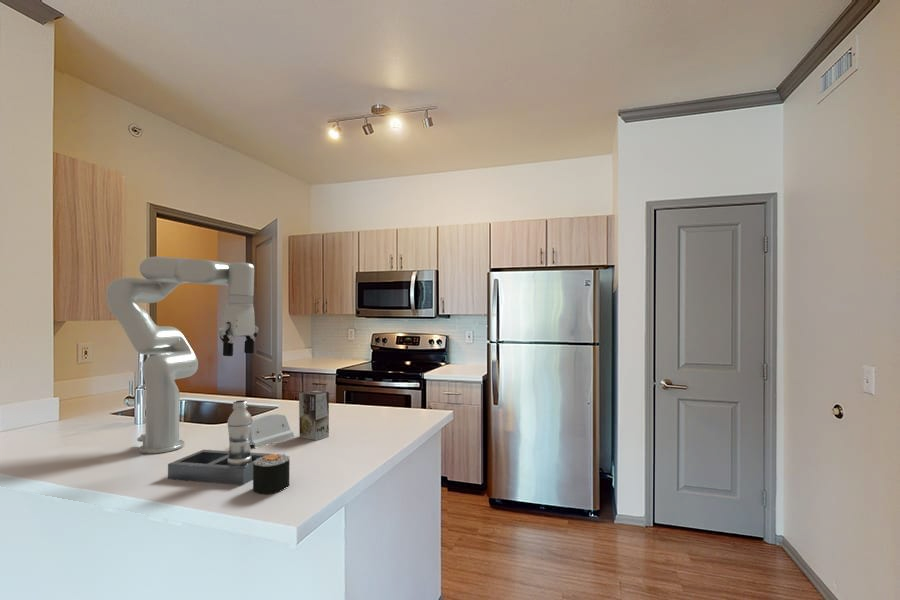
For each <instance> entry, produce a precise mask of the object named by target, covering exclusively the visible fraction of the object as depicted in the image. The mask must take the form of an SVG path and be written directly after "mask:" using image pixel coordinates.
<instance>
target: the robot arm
mask: <svg viewBox="0 0 900 600" xmlns="http://www.w3.org/2000/svg"><path fill="white" fill-rule="evenodd" d="M138 268H139V272H140V275H142V277H143V278H141V277H119V278H115V279H113V280H112V281H110V282H109V284H108V286H107V288H106V292H105V300H106V304H107V307H108V309H109V311H110V313H111V314H112V315H113V316H114V317H115V318H116V320H117V322H119V324H120V326H121V327H122V329H123V331H124V334H126V336H127V338H128V340H129V341H130V343H131V344H132V347H133V348H134V350H136V353H138V354H141V355H145V356H147V355H149V356H148V357H147V358H146V359H145V360H144V362H143V364H142V376H143V381H144V386H145V433H143V434H141V435H140V436H139V437H138V438H137V439H136V440H137V442H139V443H141V442H142V445H141V446H140V447H139V452H140V453H142V454H148V455H150V454H161V453H167V452H172V451H176V450H178V449H179V450H180V449H181V448H183V447H185V440H182V439H180V405H181V404H180V390H179V389H180V388H179V387H178V386H177V384H176V380H180V379H185V378H189V377H191V376H193V375H195V374H196V372H197V371H198V369H199V360H198V357H197V355H196V354H195V351H194V350H193V348H192V347H191V345H190V343H189V342H188V340H187V339H186V337H185V335H184V333H183V332H182V331H181V330H180V329H178V328H177V327H174V326H171V325H170V326H168V325H167V326H166V325H164V326H163V325H162V326H161V325H160V326H159V325H157V324H156V323H155V322H154V321H153V319H152V317H151V316H150V314H149V313H148V311H146V310H145V309H144V308H143V307H141V306H140V305H139V304H140V303H142V304H155V303H159V302H161V301H163V300H164V299H165V298H166V297H168V296H169V295H170V293H172V292H174V290H175V289H176V288H177V287H178V286H180V285H183V284H189V283H191V284H192V283H193V284H202V285H215V286H225V287H227V304H226V305H225V307H224V312H223V316H222V324H221V325H222V326H221V327H219V328H218V330H217V331H218V335H219V338H220V340H221V343H222V356H223V357H233V355H234V342H233V341H234V339H235V337H238V338H239V337H244V339H245V340H244V347H243V348H244V353H245V354H254V351H255V341H256V338H257V337H258V332H259V329H260V328H259V327H258V326H257V325H256V324H255V323H256V321H255V317H256V316H255V307H254V295H255V294H254V292H255V291H254V290H255V286H254V285H255V266H254V264H252V263H250V262H239V261H238V262H237V261H236V262H231V263H230V262H223V261H217V260H209V259H197V258H196V259H194V258H184V257H172V256H170V257H169V256H150V257H147V258H145V259H143V260H142V261H141V262H140V264H139V267H138ZM138 303H139V304H138Z"/></svg>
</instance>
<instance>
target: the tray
mask: <svg viewBox="0 0 900 600" xmlns="http://www.w3.org/2000/svg"><path fill="white" fill-rule="evenodd" d="M270 454H271V453H264V452H263V453H262V452H251V457H252V462H251V463H249V464H247V465H245V466H231V465H227V460H228V458H229V457H228V455H229V450H216V449H215V450H213V449H202V450H199V451H197V452H194V453H192V454H189V455H187V456H185V457H182V458H178V459H177V460H174V461H172V462H169V463H168V464H167V479H168V480H176V479H179V480H178V481H189V480H191V482H192V481H193V482H201V481H204V482H203V483H205V482H206V483H214V482H216V483H217V484H227V483H232V484H231V485H240V484H244V485H246V484H247V483H249V482H251V481H253V462H254V461H256V460H257V458H258V459H259V458H260V457H261V458H262V457H265V455H266V456H267V455H270ZM250 480H251V481H250ZM248 481H249V482H248ZM245 483H246V484H245Z"/></svg>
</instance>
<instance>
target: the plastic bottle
mask: <svg viewBox="0 0 900 600" xmlns="http://www.w3.org/2000/svg"><path fill="white" fill-rule="evenodd" d="M247 408H249V407H248V401H247V400H246V399H243V400H242V399H239V400H235V401H233V402H232V412H231V413H230V415H229V417H228V419H227V429H228V440H229V442H228V444H229V446H228V447H229V448H228V451H229V455H228V457H229V458H228V460H227V465H231V466H245V465H247V464H249V463H251V462H252V457H251V453H252V452H251V446H250V435H251V427H252V421H253V416H252V414H251V413H250V412H249V411H248V410H247Z"/></svg>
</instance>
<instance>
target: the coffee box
mask: <svg viewBox="0 0 900 600" xmlns="http://www.w3.org/2000/svg"><path fill="white" fill-rule="evenodd" d="M298 395H299V396H298V398H299V399H298V401H299V402H298V408H299V409H298V410H299V411H298V415H299V417H298V419H299V420H298V421H299V423H298V425H299V431H298V432H299V433H298V434H299V435H298V436H299V438H303V439H308V440H313V441H318V440H321V439H326V438H329V437H330V432H329V431H330V428H329V427H330V426H329V425H330V421H329V420H330V419H329V416H330V415H329V414H330V411H329V409H330V407H329V406H330V402H329V401H330V397H329V396H330V392H329V391H323V390H314V389H312V390H306V391H301V392H299V393H298Z"/></svg>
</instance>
